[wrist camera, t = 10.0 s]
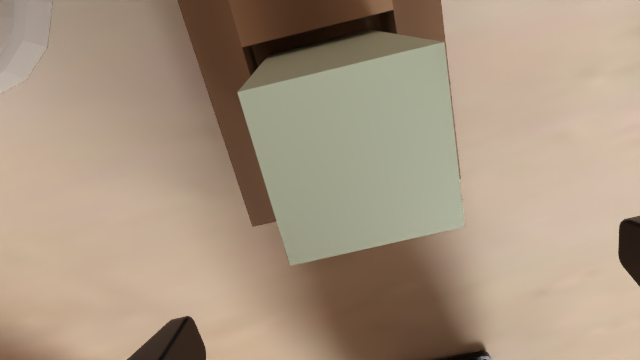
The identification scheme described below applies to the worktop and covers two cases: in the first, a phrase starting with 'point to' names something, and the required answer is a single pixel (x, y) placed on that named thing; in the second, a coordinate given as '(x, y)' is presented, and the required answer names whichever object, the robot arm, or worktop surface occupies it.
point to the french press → (22, 38)
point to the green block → (355, 142)
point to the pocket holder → (273, 36)
